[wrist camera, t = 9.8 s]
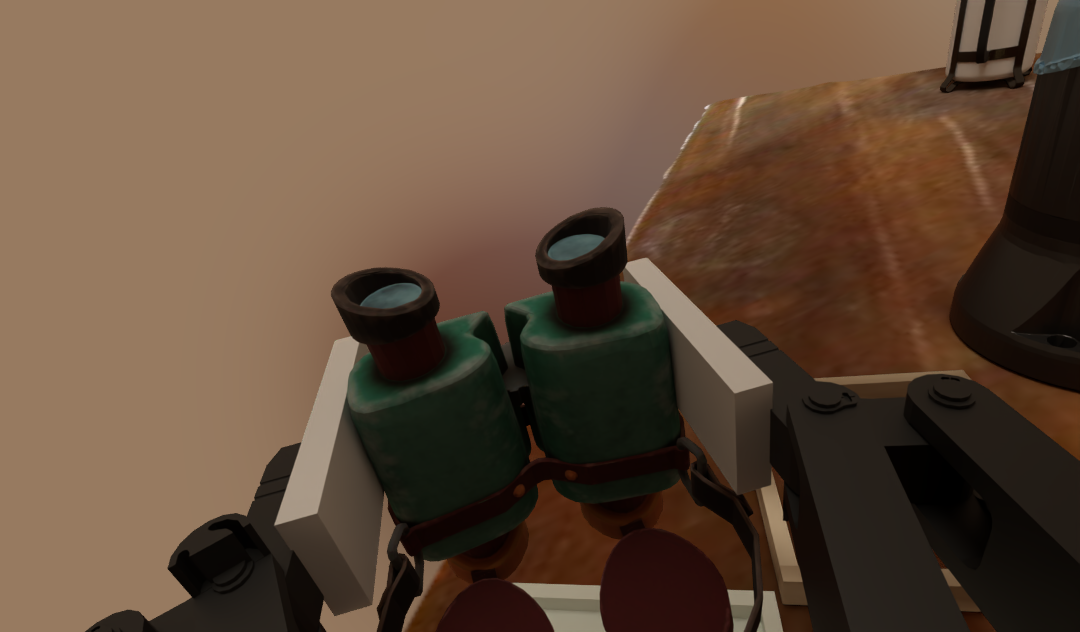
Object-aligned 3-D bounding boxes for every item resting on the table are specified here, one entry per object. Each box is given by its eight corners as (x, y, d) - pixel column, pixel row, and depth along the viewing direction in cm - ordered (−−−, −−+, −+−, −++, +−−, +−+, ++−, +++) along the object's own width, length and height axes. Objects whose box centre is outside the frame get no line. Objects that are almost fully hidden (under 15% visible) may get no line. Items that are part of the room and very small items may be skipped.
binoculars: (111, 733, 5) (293, 255, 13) (442, 915, 11) (424, 509, 19) (988, 446, 5) (636, 165, 14) (841, 766, 11) (657, 437, 20)
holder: (735, 403, 37) (735, 383, 36) (957, 392, 34) (962, 370, 33) (782, 604, 25) (783, 581, 24) (1136, 617, 22) (1152, 591, 21)
